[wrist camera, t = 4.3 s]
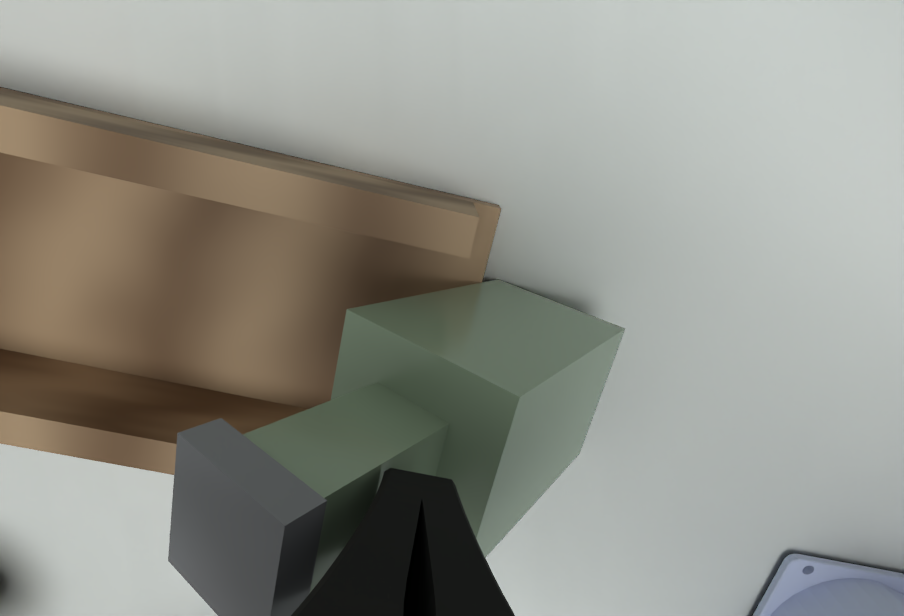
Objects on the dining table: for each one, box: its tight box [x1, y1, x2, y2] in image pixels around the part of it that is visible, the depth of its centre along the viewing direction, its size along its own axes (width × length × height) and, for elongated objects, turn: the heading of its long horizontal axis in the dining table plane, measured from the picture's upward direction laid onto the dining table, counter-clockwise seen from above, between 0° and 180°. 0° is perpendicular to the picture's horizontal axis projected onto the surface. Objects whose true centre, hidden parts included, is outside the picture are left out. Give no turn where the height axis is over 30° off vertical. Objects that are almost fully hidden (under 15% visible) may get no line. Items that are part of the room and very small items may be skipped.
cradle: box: [0, 87, 501, 475], centre depth 17 cm, size 21×10×5 cm, turn 77°
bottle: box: [168, 279, 625, 616], centre depth 14 cm, size 5×5×13 cm
